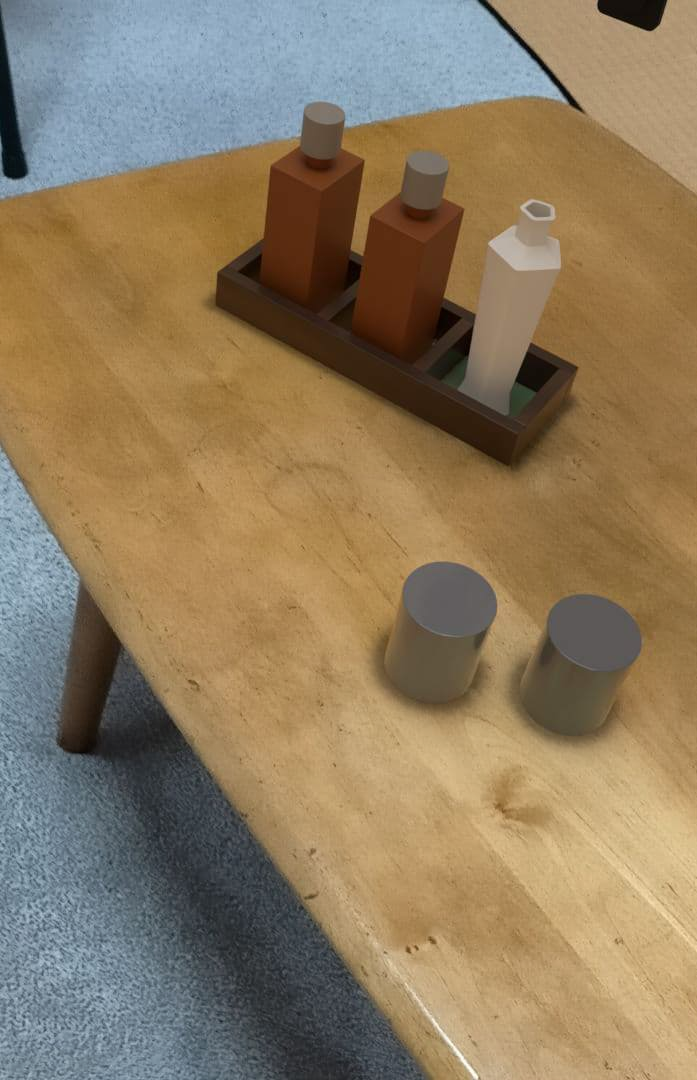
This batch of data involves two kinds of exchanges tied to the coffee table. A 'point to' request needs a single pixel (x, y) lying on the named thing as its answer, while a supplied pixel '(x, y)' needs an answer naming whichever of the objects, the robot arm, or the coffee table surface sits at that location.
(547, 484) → the coffee table surface
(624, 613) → the grey jar
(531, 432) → the rack
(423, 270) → the amber bottle
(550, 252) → the perfume bottle
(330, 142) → the amber bottle
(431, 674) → the grey upright cylinder
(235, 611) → the coffee table surface
